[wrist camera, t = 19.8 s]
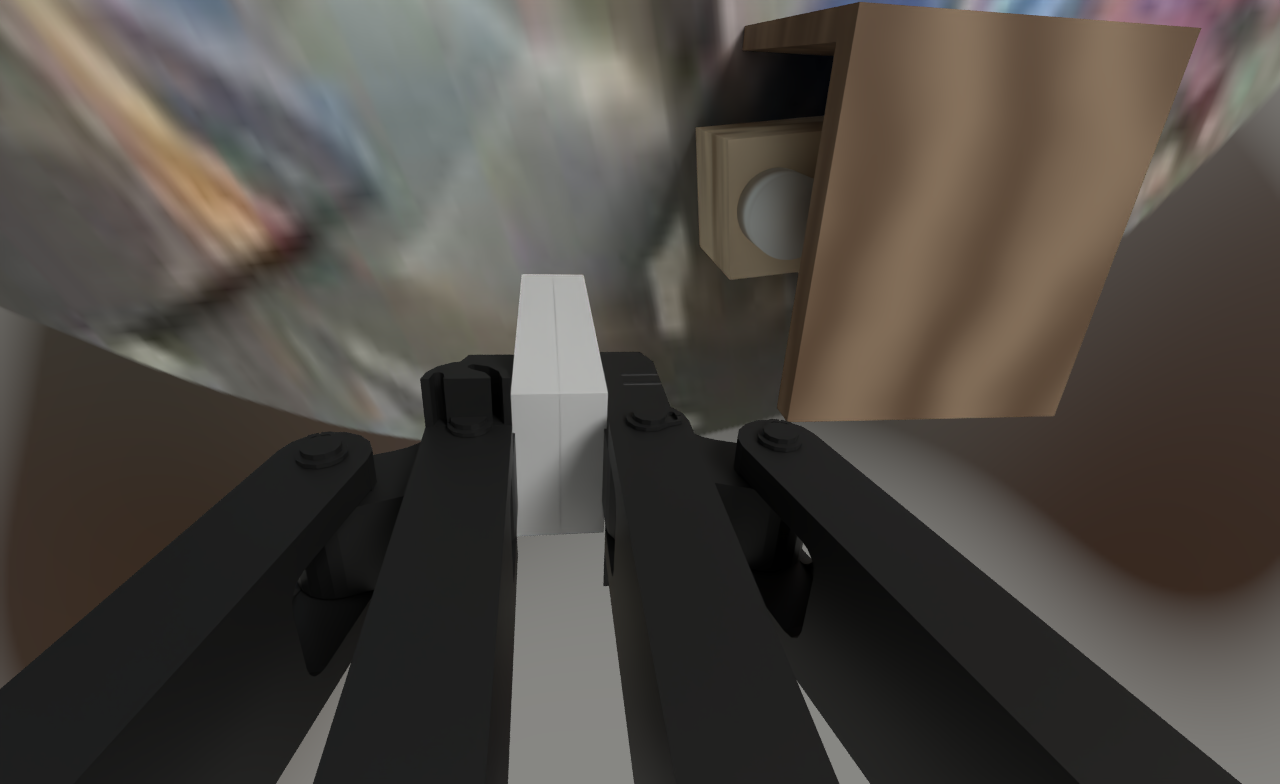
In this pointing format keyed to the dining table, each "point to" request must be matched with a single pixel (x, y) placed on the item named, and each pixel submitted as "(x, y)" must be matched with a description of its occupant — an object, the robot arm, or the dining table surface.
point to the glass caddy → (756, 193)
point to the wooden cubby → (964, 202)
